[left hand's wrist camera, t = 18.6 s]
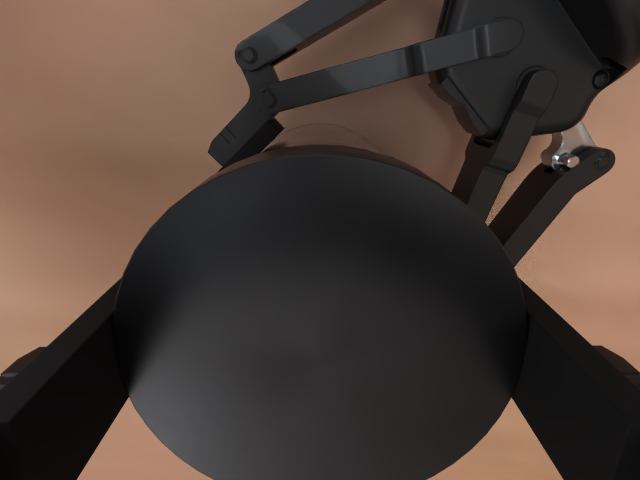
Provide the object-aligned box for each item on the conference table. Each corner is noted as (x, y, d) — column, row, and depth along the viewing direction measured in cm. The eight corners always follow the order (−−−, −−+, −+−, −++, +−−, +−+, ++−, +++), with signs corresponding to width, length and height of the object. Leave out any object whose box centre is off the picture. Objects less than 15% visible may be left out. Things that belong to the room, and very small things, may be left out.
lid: (544, 164, 10) (586, 177, 9) (456, 467, 14) (474, 516, 13) (128, 124, 10) (90, 130, 8) (151, 445, 14) (128, 492, 12)
